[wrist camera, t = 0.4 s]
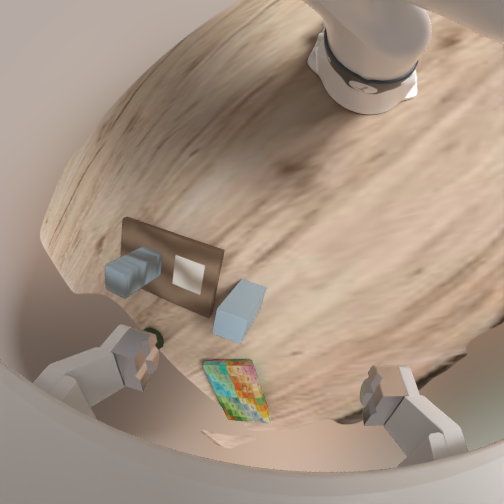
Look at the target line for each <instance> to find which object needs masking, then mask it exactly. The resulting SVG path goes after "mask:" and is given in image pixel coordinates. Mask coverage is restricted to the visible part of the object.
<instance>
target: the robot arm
mask: <svg viewBox="0 0 504 504" xmlns="http://www.w3.org/2000/svg"><path fill="white" fill-rule="evenodd" d="M302 1H304V2H305V3H306V4H308V5H309V6H310V7H312V8H313V9H314V10H315V11H316V12H317V13H318V14H319V15H320V16H321V17H322V18H323V22H322V26H323V27H324V29H323V31H322V32H321V33H319V35H318V40H317V42H316V44H315V46H314V48H313V50H312V52H311V54H310V56H309V58H308V65H309V67H310V68H311V69H312V70H313V71H314V72H315V73H316V74H318V75H319V77H320V79H321V81H322V83H323V85H324V87H325V89H326V91H327V92H328V94H329V95H330V96H331V97H332V98H333V99H334V100H335V101H336V102H337V103H338V104H340V105H341V106H343V107H345V108H346V109H348V110H351V111H353V112H356V113H361V114H379V113H383V112H386V111H388V110H390V109H391V108H393V107H394V106H395V105H397V104H398V103H399V102H401V101H404V100H409V99H412V98H414V97H415V96H416V95H417V77H416V67H417V64H418V60H419V58H420V57H421V56H422V54H423V53H424V52H425V50H426V49H427V48H428V46H429V44H430V41H431V36H432V27H431V22H430V19H429V16H428V14H427V12H426V10H429V11H431V12H434V13H436V14H438V15H441V16H443V17H445V18H448V19H450V20H452V21H454V22H456V23H458V24H460V25H462V26H464V27H466V28H468V29H470V30H472V31H474V32H476V33H478V34H479V35H482V36H484V37H487V38H489V39H492V40H494V41H497V42H499V43H501V44H504V0H302ZM425 9H426V10H425ZM315 56H316V57H315ZM156 343H157V338H156V335H155V334H153V333H150V332H146V331H143V330H140V329H136V328H132V327H129V326H126V325H123V324H121V325H119V326H118V327H117V328H116V329H115V330H114V331H113V332H112V334H111V335H110V336H109V337H108V338H107V340H106V341H105V342H104V343H103V344H102V345H101V346H100V348H98V347H95V348H92V349H90V350H87V351H85V352H82V353H79V354H77V355H74V356H71V357H68V358H66V359H63V360H60V361H57V362H55V363H52V364H50V365H49V366H48V367H47V368H46V369H45V370H44V371H43V372H42V373H41V375H40V376H39V377H38V378H37V379H36V380H35V381H34V383H31V382H30V381H28V380H27V379H25V378H24V377H23V376H21V375H20V374H18V373H17V372H16V371H14V370H13V369H12V368H10V367H9V366H7V365H6V364H5V363H4V362H2V361H1V360H0V504H504V439H502V440H499V441H497V442H494V443H491V444H489V445H486V446H484V447H480V448H477V449H474V450H471V451H468V450H467V446H466V443H465V440H464V437H463V434H462V431H461V428H460V427H459V426H458V425H457V424H456V423H455V422H453V421H452V420H451V419H450V418H449V417H448V416H446V415H445V414H444V413H443V412H442V411H441V410H439V409H438V408H437V407H436V406H435V405H434V404H432V403H431V402H430V401H429V400H428V399H427V398H425V397H424V396H420V394H419V391H418V389H417V386H416V383H415V380H414V378H413V375H412V372H411V370H410V367H409V366H408V365H404V366H380V365H373V366H372V367H371V368H370V370H369V372H368V374H369V377H368V378H367V379H365V380H364V382H363V384H362V386H361V391H360V402H361V404H362V405H363V406H364V407H365V408H364V410H363V411H362V415H363V422H364V426H368V425H369V426H371V425H372V426H374V425H384V427H385V429H386V430H387V431H388V432H389V434H390V435H391V436H392V438H393V439H394V440H395V442H396V443H397V444H398V445H399V447H400V448H401V449H402V451H403V452H404V453H405V454H406V455H407V458H406V459H404V460H403V461H402V462H401V463H400V464H399V465H398V466H397V467H396V468H389V469H380V470H370V471H354V472H300V471H286V470H275V469H266V468H258V467H251V466H244V465H238V464H232V463H227V462H222V461H217V460H213V459H208V458H203V457H199V456H195V455H192V454H188V453H184V452H181V451H177V450H173V449H170V448H167V447H164V446H161V445H158V444H155V443H152V442H149V441H146V440H144V439H141V438H138V437H135V436H133V435H130V434H128V433H125V432H123V431H120V430H118V429H116V428H113V427H111V426H109V425H107V424H104V423H102V422H100V421H98V420H96V417H95V415H94V413H93V412H92V410H91V408H90V407H91V406H93V405H95V404H96V403H98V402H100V401H102V400H103V399H105V398H107V397H108V396H110V395H111V394H113V393H115V392H116V391H118V390H120V389H122V388H123V387H124V386H127V387H130V388H133V389H136V390H139V391H144V389H145V388H146V386H147V384H148V383H149V381H150V378H149V375H150V374H152V373H154V372H155V370H156V369H157V367H158V363H159V350H158V349H157V347H156V346H155V345H156Z"/></svg>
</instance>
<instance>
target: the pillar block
mask: <svg viewBox="0 0 504 504" xmlns="http://www.w3.org/2000/svg"><path fill="white" fill-rule="evenodd" d="M265 291H266V287H263V286H261V285H258V284H255V283H252V282H249V281H246V280H244V279H241V281H240V282H239V283H238V284H237V285H236V287H235V288H234V289H233V290H232V291H231V293H230V294H229V295H228V296H227V297H226V299H225V300H224V301H223V302H222V303H221V305H220V306H219V307H218V308H217V312H216V317H215V322H214V327H213V332H212V333H213V334H216V335H218V336H221V337H223V338H226V339H228V340H231V341H233V342H236V343H239V344H241V343H242V341H243V339H244V338H245V336H246V334H247V332H248V330H249V329H250V327H251V325H252V323H253V321H254V320H255V318H256V316H257V314H258V312H259V310H260V308H261V305H262V302H263V298H264V295H265Z"/></svg>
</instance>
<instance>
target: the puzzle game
mask: <svg viewBox="0 0 504 504" xmlns="http://www.w3.org/2000/svg"><path fill="white" fill-rule="evenodd" d="M203 367H204V370H205V372H206V374H207V377H208V379H209V381H210V383H211V385H212V387H213V390H214V392H215V394H216V396H217V398H218V400H219V402H220V404H221V406H222V408H223V410H224V412H225V414H226V416H227V418H228V420H236V421H247V422H262V423H271V416H270V413H269V410H268V406H267V403H266V400H265V397H264V394H263V391H262V388H261V385H260V382H259V379H258V376H257V373H256V370H255V367H254V364H253V361H252V360H218V359H215V360H210V361H205V362H204V363H203Z"/></svg>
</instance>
